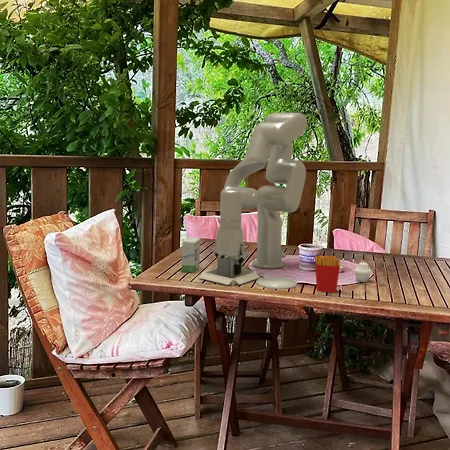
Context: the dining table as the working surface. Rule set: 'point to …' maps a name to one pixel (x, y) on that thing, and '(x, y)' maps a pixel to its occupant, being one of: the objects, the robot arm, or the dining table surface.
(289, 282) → the cream round plate
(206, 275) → the beige square frame
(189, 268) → the ink box
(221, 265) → the block
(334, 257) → the french fries
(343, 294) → the dining table surface
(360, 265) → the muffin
